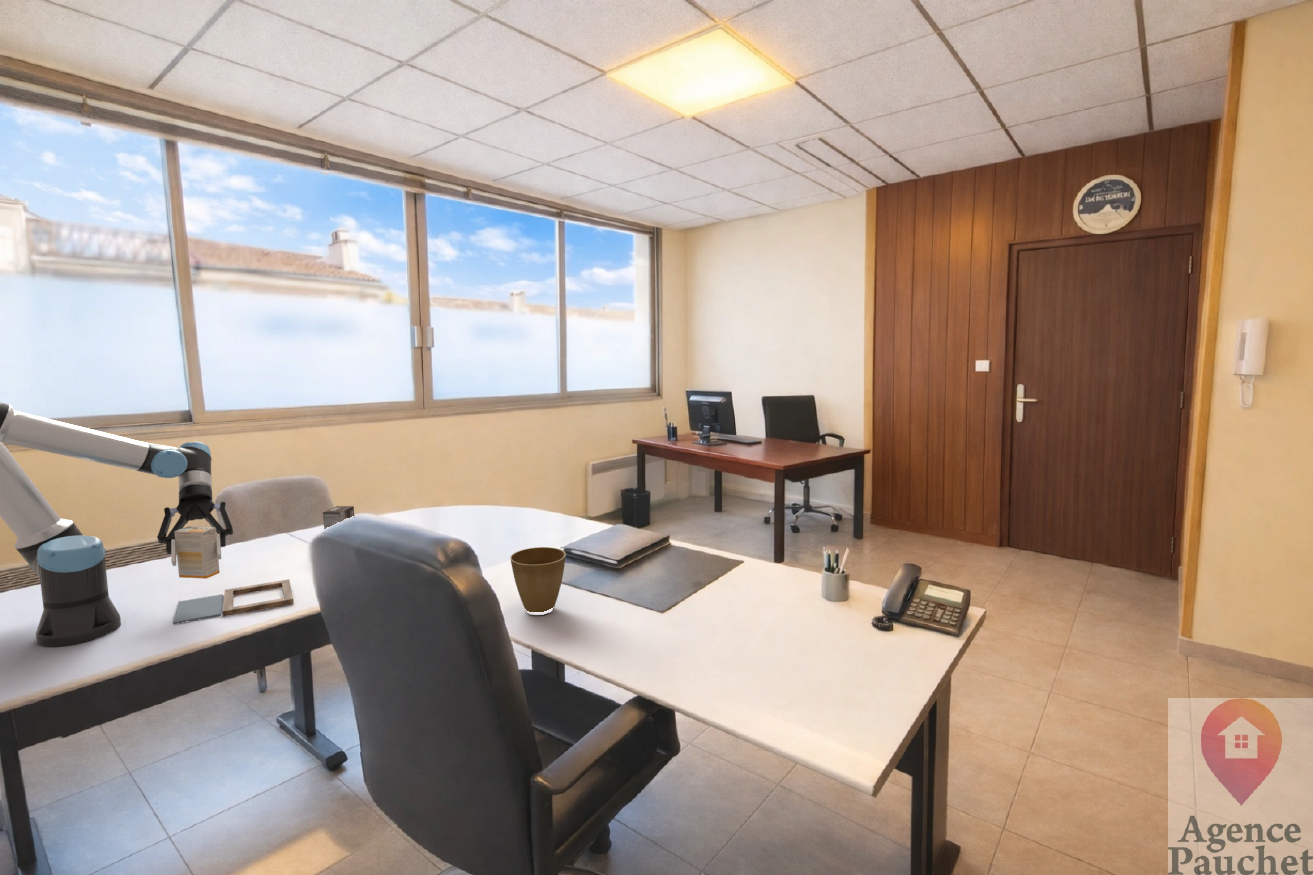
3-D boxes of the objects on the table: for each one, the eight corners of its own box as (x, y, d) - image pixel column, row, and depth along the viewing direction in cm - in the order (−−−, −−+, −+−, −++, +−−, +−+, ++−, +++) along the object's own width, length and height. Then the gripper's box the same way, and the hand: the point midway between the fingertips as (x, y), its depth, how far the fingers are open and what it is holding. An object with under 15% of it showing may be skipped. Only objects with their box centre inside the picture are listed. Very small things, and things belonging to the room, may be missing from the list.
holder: (223, 616, 159) (222, 611, 159) (225, 594, 174) (224, 589, 174) (293, 603, 168) (293, 598, 168) (289, 583, 183) (289, 579, 183)
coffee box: (339, 548, 217) (336, 505, 216) (356, 549, 217) (354, 505, 215) (325, 556, 208) (322, 511, 206) (343, 557, 208) (340, 512, 206)
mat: (173, 624, 154) (173, 622, 154) (178, 603, 167) (178, 601, 167) (221, 615, 160) (221, 613, 160) (222, 596, 173) (222, 594, 173)
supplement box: (220, 573, 165) (216, 526, 163) (206, 579, 160) (201, 531, 158) (193, 571, 166) (189, 525, 164) (177, 577, 161) (173, 530, 159)
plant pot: (533, 596, 176) (533, 543, 174) (576, 606, 169) (576, 551, 167) (499, 615, 163) (498, 558, 161) (544, 626, 156) (543, 567, 154)
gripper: (242, 493, 179) (246, 559, 168) (148, 502, 167) (146, 574, 156) (241, 478, 174) (245, 546, 163) (143, 487, 162) (141, 560, 151)
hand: (196, 560), depth 160 cm, fingers closed on supplement box, 9 cm apart
